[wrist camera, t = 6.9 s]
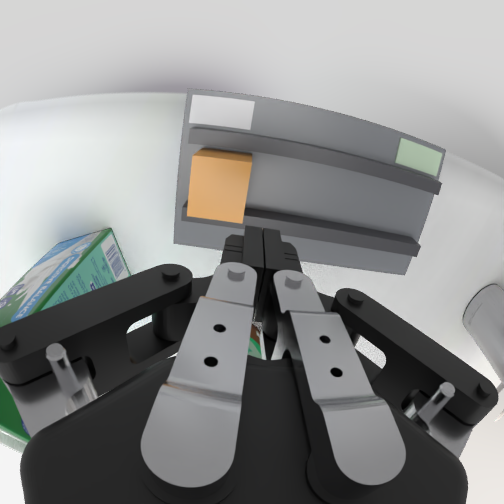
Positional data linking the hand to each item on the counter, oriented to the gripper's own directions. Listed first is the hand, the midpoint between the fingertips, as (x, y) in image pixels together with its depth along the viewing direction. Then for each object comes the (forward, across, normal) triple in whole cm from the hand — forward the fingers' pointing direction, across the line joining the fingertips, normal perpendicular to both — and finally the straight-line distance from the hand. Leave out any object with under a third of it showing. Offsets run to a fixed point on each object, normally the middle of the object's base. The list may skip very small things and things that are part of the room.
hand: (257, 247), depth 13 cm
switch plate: (+17, -5, 0) cm, 18 cm away
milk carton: (+17, +18, +14) cm, 28 cm away
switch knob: (+12, +3, 0) cm, 13 cm away
